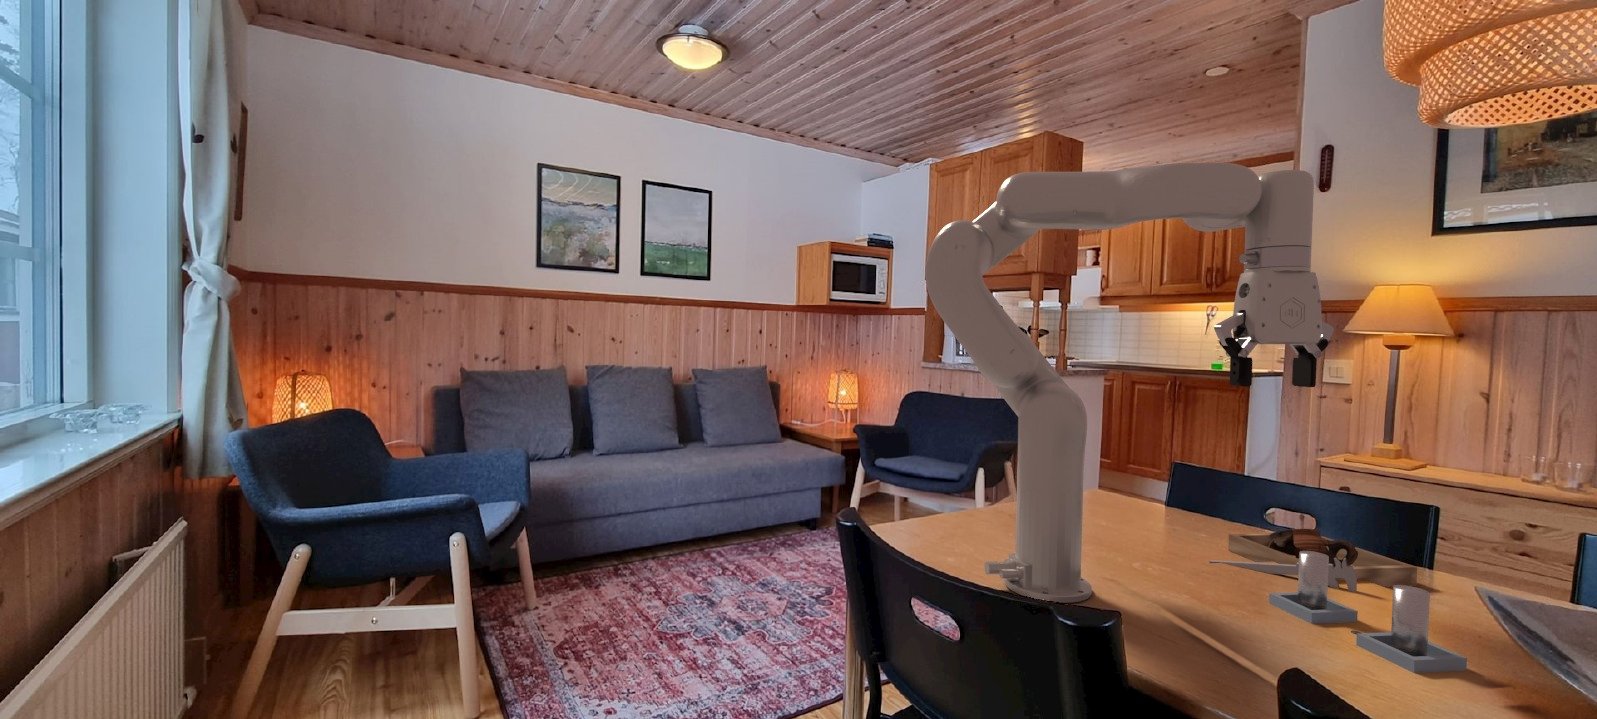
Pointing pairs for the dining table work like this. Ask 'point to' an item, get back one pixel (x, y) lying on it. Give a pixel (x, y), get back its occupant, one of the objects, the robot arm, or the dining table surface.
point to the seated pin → (1313, 580)
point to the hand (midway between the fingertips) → (1272, 386)
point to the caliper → (1286, 569)
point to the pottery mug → (1310, 544)
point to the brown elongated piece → (1367, 562)
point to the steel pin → (1410, 620)
